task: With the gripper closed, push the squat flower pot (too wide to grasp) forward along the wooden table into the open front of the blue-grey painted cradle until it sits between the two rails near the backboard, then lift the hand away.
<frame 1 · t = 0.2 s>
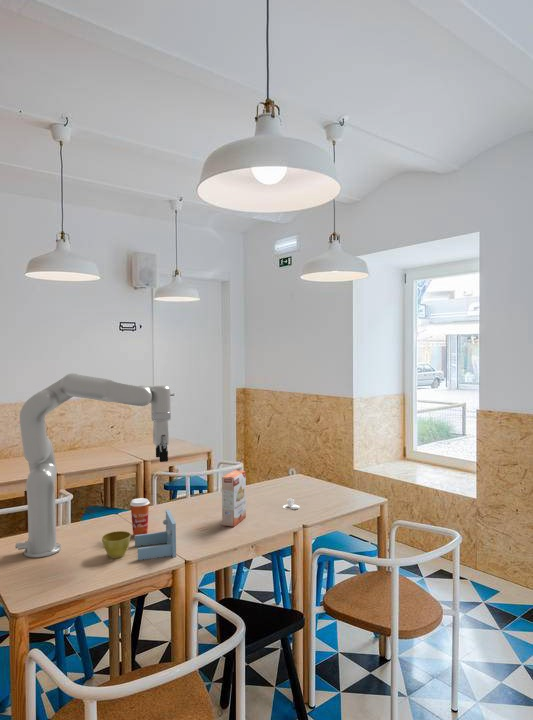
hand: (161, 459, 205), 31 cm above the table, tool pointing down, fingers open, 9 cm apart
cracker box: (234, 522, 222), on the table
cradle: (153, 550, 190), on the table
paper cup: (140, 535, 207), on the table
flower pot: (116, 556, 186), on the table
white lobed knob: (287, 510, 239), on the table
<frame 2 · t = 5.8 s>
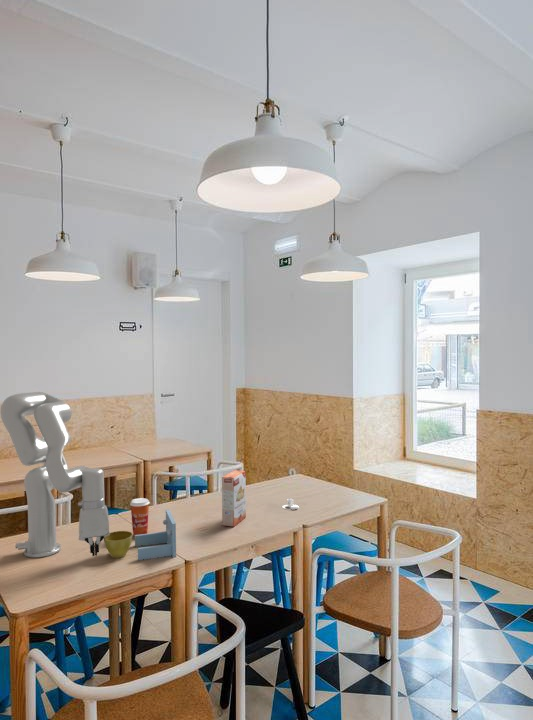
hand: (94, 554, 184), 1 cm above the table, tool pointing down, fingers closed
flower pot: (118, 555, 186), on the table, touching gripper
everything else where it was.
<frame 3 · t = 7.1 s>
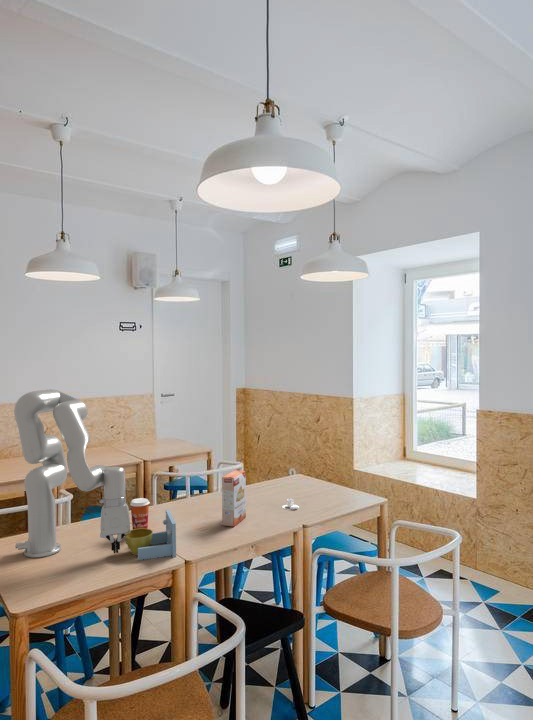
hand: (115, 551, 186), 1 cm above the table, tool pointing down, fingers closed
flower pot: (139, 552, 189), on the table, touching gripper
everything else where it was.
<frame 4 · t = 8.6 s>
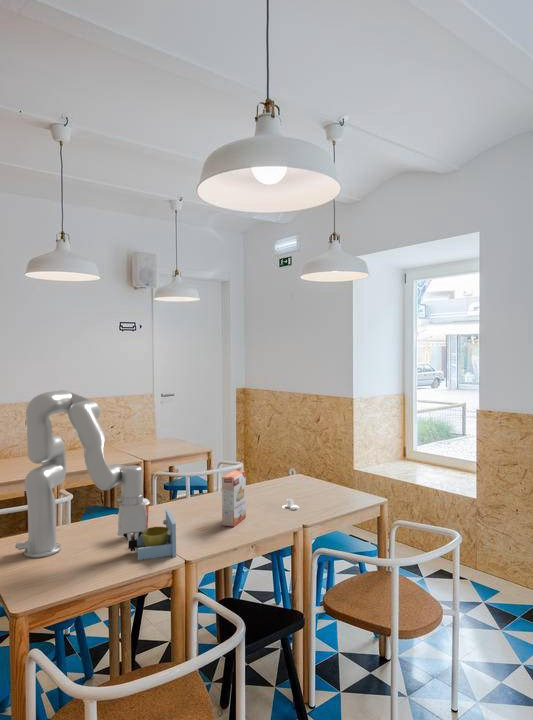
hand: (132, 549, 188), 1 cm above the table, tool pointing down, fingers closed
flower pot: (155, 550, 191), on the table, touching cradle, gripper
everything else where it was.
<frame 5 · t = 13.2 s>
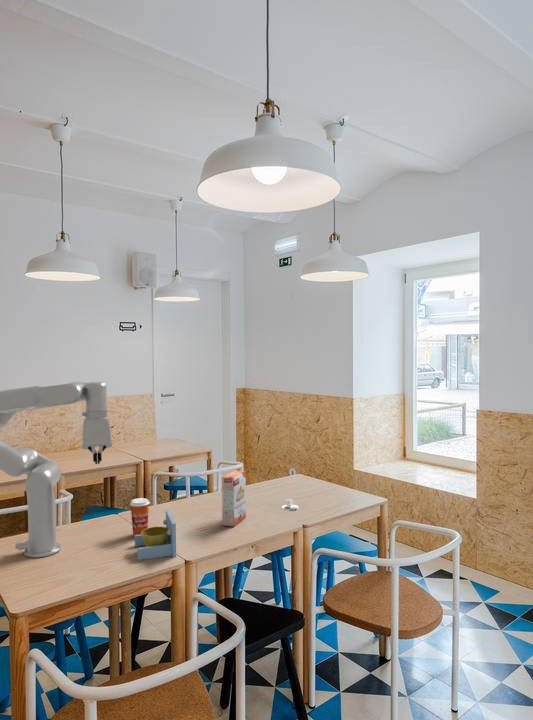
hand: (97, 463, 193), 32 cm above the table, tool pointing down, fingers closed
flower pot: (155, 550, 191), on the table
everything else where it was.
at the end: flower pot inside the target area (0.2 cm from its centre), on the table; flower pot tilted 0° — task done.
